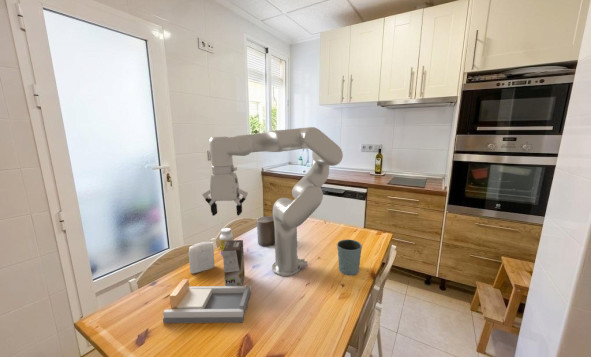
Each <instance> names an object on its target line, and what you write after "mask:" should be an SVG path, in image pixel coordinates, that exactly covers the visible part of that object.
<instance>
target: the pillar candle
mask: <svg viewBox="0 0 591 357" xmlns="http://www.w3.org/2000/svg"><path fill="white" fill-rule="evenodd" d="M256 230H257V245H258V246H259V247H263V248H264V247H266V248H267V247H272V246H275V228H274V219H273V216H260V217H258V218H257V219H256Z"/></svg>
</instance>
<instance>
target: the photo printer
mask: <svg viewBox="0 0 591 357" xmlns="http://www.w3.org/2000/svg"><path fill="white" fill-rule="evenodd" d="M188 260H189V263H188V264H189V272H190V274H191V275H192V274H193V275H194V274H197V273H200V272H204V271H207V270H210V269H213V268H215V252H214V245H213V242H211V241H202V242H198V243H195V244H193V245H191V246H189V247H188Z"/></svg>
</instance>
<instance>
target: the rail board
mask: <svg viewBox="0 0 591 357" xmlns="http://www.w3.org/2000/svg"><path fill="white" fill-rule="evenodd" d="M189 289H212V295H211V297H210V299H209V301H208V303H207V304H206V306H205V308H204V309H171V308H170V309H164V311H162V314H163V316H162V317H163V318H162V323H163V324H213V323H214V324H215V323H216V324H218V323H220V324H221V323H222V324H224V323H225V324H227V323H229V324H230V323H231V324H233V323H234V324H235V323H239V324H240V323H243V322H244V320H245V316H246V312H247V309H248V305H249V302H250V298H251V295H252V289H251V285H249V284H248V285H242V286H225V285H215V286H213V285H212V286H210V285H208V286H207V285H206V286H205V285H204V286H201V285H200V286H195V285H194V286H190V285H189Z"/></svg>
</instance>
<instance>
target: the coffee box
mask: <svg viewBox="0 0 591 357" xmlns="http://www.w3.org/2000/svg"><path fill="white" fill-rule="evenodd" d="M222 257H223V271H224V286H244V285H243V284H244V280H245V277H246V275H245V274H246V272H245V255H244V240H243V239H237V240H235V239H234V240H233V241H228V242H227V244H226V245H225V247H224V249H223V256H222Z"/></svg>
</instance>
